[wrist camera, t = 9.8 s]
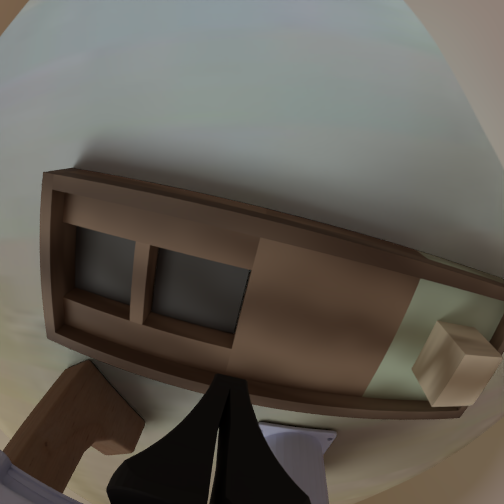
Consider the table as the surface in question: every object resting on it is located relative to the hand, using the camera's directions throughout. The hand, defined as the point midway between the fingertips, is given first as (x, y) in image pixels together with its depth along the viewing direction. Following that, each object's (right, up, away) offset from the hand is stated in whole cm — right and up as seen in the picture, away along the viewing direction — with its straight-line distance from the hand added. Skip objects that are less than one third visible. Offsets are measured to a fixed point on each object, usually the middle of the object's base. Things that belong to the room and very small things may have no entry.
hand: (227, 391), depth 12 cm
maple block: (+16, -1, +7) cm, 18 cm away
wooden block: (-14, -8, +13) cm, 21 cm away
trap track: (+4, +2, +9) cm, 10 cm away
